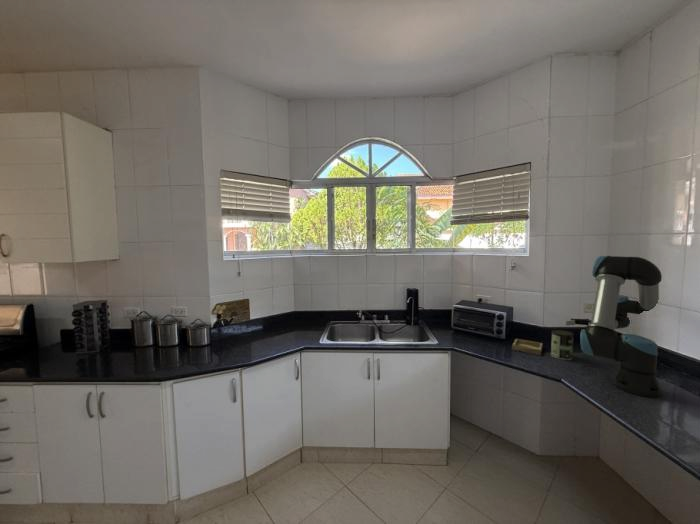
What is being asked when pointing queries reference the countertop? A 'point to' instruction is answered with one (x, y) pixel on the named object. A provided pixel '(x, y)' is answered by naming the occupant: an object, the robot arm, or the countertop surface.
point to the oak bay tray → (527, 346)
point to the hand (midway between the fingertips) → (576, 326)
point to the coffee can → (562, 344)
